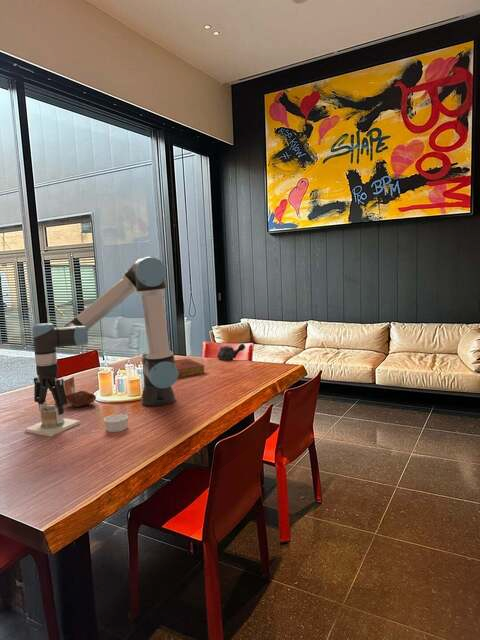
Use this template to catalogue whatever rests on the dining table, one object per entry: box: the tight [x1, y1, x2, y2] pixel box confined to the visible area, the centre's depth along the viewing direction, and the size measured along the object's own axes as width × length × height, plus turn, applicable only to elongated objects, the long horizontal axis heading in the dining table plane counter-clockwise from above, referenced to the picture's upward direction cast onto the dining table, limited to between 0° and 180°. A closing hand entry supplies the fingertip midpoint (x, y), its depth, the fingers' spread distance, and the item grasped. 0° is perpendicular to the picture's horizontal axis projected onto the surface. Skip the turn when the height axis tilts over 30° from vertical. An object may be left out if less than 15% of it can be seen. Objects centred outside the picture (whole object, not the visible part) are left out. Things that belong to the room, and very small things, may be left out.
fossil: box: [66, 389, 97, 408], centre depth 192 cm, size 13×8×10 cm
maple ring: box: [40, 407, 62, 427], centre depth 167 cm, size 7×7×6 cm
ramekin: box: [103, 413, 129, 433], centre depth 163 cm, size 9×9×4 cm
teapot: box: [216, 343, 246, 361], centre depth 277 cm, size 19×15×10 cm
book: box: [174, 358, 205, 379], centre depth 246 cm, size 30×24×5 cm
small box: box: [54, 376, 76, 403], centre depth 202 cm, size 8×6×10 cm
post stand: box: [24, 404, 81, 438], centre depth 167 cm, size 14×14×9 cm
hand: (52, 420), depth 167 cm, fingers open, 8 cm apart
